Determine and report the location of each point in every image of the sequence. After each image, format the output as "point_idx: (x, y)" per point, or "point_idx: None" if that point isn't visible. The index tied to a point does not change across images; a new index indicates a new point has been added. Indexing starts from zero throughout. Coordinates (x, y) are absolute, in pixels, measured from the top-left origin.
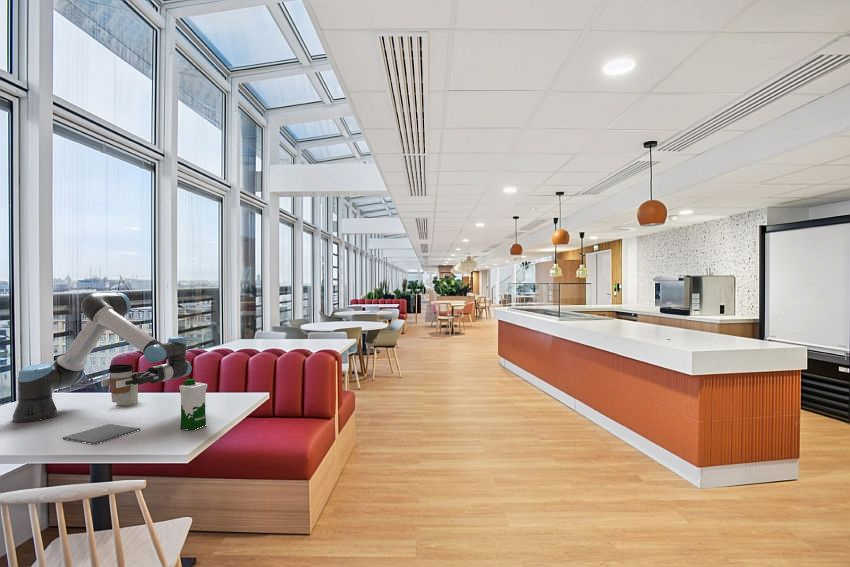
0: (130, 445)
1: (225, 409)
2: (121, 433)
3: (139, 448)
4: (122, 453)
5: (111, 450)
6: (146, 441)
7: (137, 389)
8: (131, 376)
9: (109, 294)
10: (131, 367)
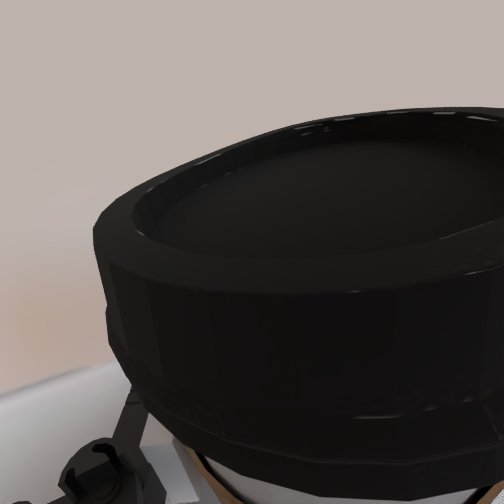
0: (77, 433)
1: None
2: (203, 498)
3: (28, 428)
4: (66, 382)
5: (116, 381)
6: (29, 495)
7: None
8: (191, 456)
9: None
10: (104, 287)
